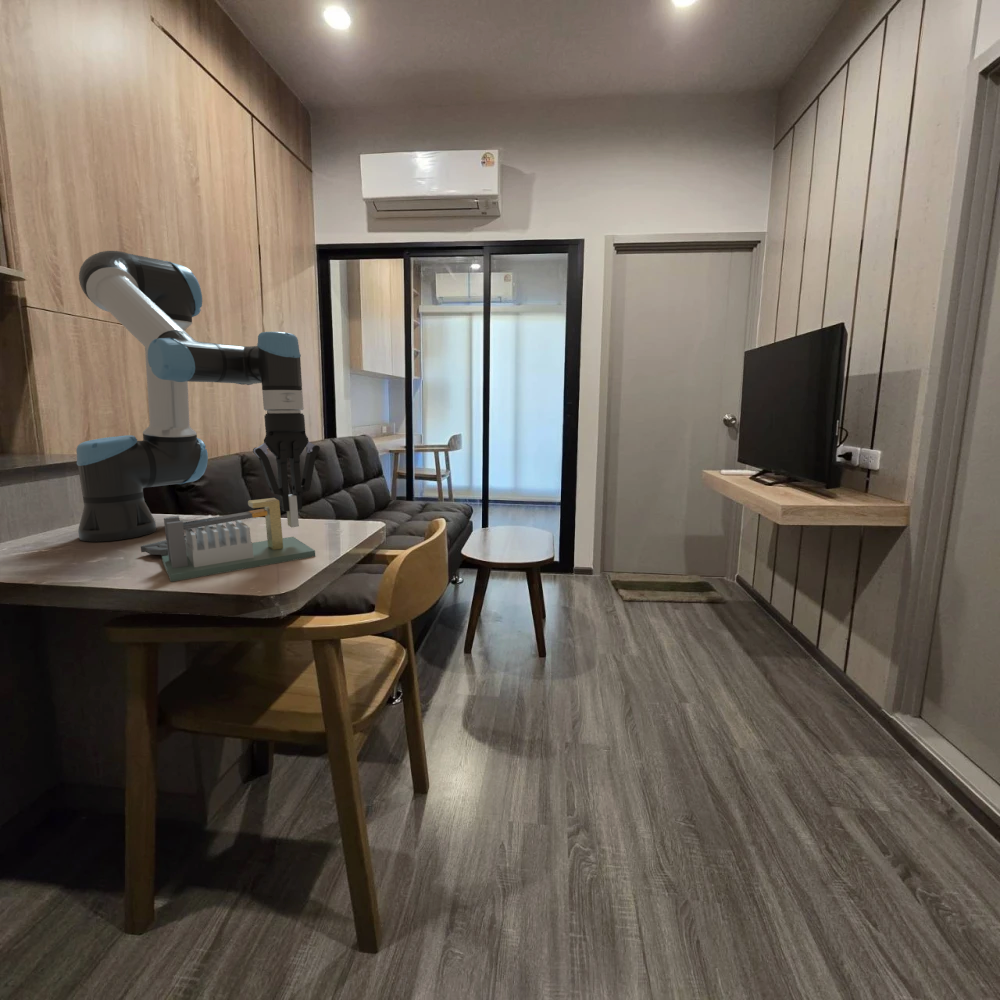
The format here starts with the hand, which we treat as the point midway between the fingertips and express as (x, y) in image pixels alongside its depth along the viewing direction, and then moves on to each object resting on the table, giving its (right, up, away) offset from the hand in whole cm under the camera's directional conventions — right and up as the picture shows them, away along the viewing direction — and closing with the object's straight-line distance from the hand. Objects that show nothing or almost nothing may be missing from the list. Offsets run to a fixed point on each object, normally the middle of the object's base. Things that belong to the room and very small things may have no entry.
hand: (293, 525), depth 109 cm
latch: (-4, -5, -3) cm, 7 cm away
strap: (-11, +1, -9) cm, 14 cm away
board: (-8, -6, -6) cm, 12 cm away
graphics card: (-24, -6, +3) cm, 25 cm away
